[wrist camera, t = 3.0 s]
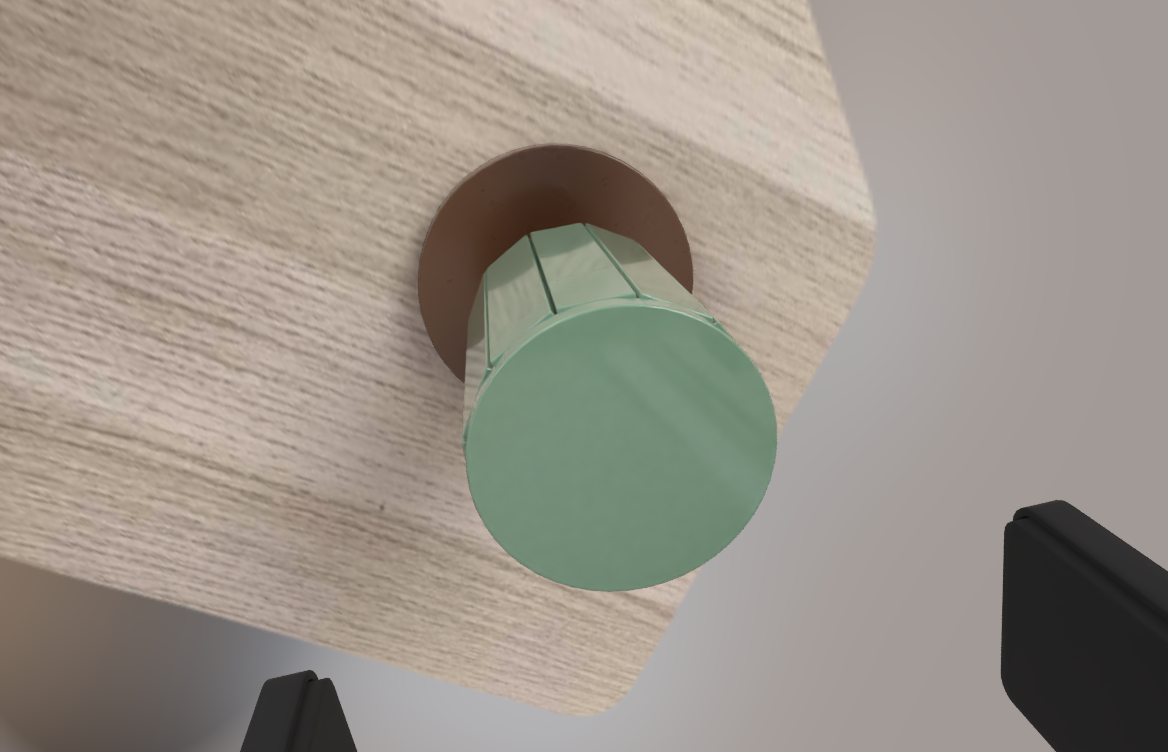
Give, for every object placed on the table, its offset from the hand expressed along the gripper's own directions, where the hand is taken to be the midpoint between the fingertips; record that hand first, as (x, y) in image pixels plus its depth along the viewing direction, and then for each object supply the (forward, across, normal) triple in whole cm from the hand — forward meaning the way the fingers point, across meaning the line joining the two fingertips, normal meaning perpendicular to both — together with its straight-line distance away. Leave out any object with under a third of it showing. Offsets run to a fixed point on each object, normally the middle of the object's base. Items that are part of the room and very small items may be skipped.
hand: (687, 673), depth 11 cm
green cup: (+17, 0, 0) cm, 17 cm away
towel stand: (+24, -1, 0) cm, 24 cm away
